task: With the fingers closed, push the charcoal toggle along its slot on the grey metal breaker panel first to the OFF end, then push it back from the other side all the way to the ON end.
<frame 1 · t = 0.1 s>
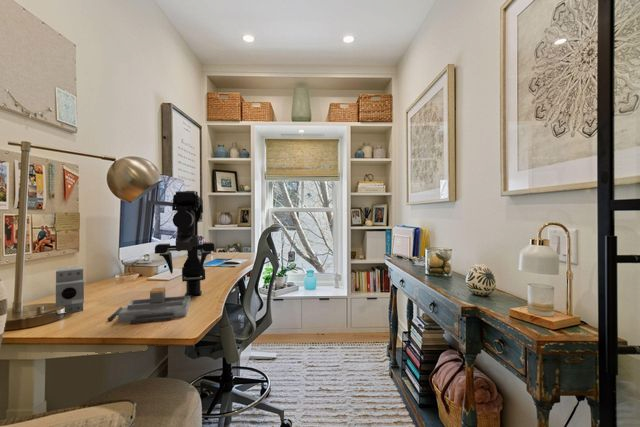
hand: (186, 272, 108), 14 cm above the table, tool pointing down, fingers open, 9 cm apart
toggle: (157, 295, 110), point 6 cm above the table, slide at 0.0 cm
circuit breaker: (69, 312, 111), on the table
cord b: (151, 321, 100), on the table
cord a: (115, 315, 107), on the table
panel: (157, 311, 110), on the table
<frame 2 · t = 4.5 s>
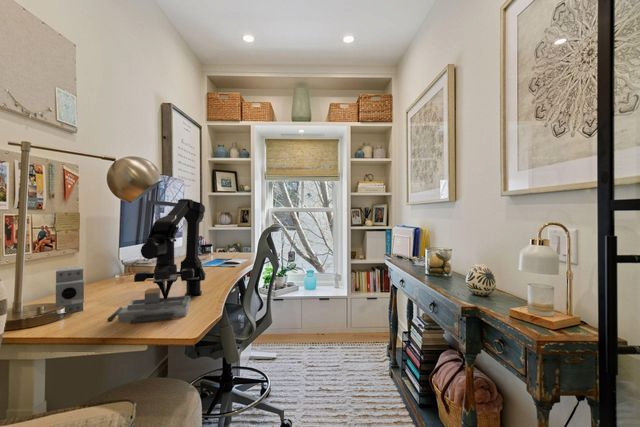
hand: (165, 299, 111), 4 cm above the table, tool pointing down, fingers closed
toggle: (152, 296, 110), point 6 cm above the table, slide at -1.7 cm, touching gripper
everything else where it was.
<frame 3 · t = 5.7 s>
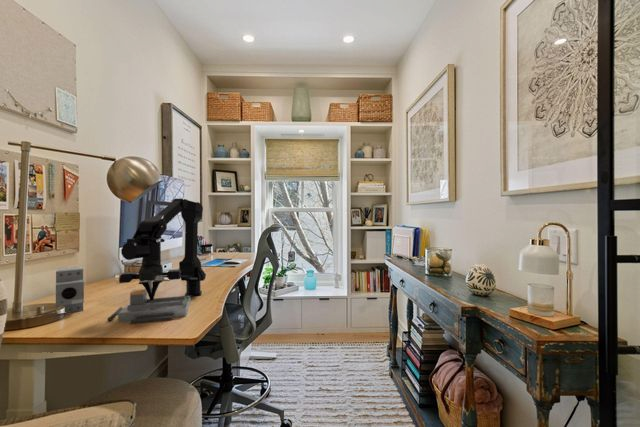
hand: (151, 300, 110), 4 cm above the table, tool pointing down, fingers closed
toggle: (138, 297, 109), point 6 cm above the table, slide at -6.0 cm, touching gripper
everything else where it was.
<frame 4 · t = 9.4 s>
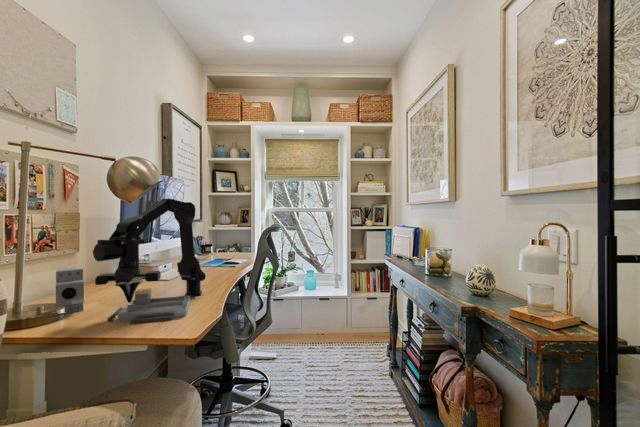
hand: (129, 302, 108), 4 cm above the table, tool pointing down, fingers closed
toggle: (143, 297, 109), point 6 cm above the table, slide at -4.6 cm, touching gripper
everything else where it was.
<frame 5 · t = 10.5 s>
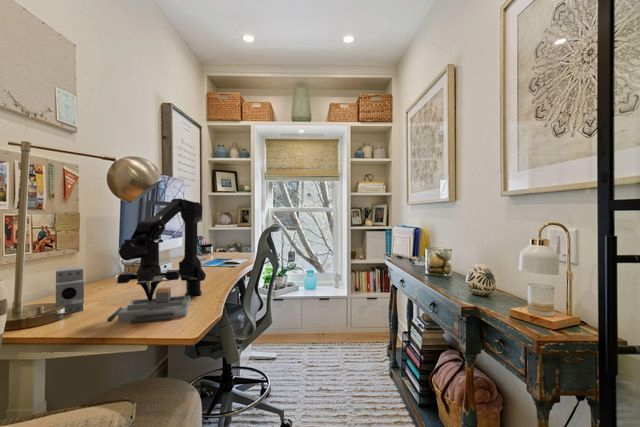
hand: (150, 300, 110), 4 cm above the table, tool pointing down, fingers closed
toggle: (163, 295, 111), point 6 cm above the table, slide at 1.8 cm, touching gripper
everything else where it was.
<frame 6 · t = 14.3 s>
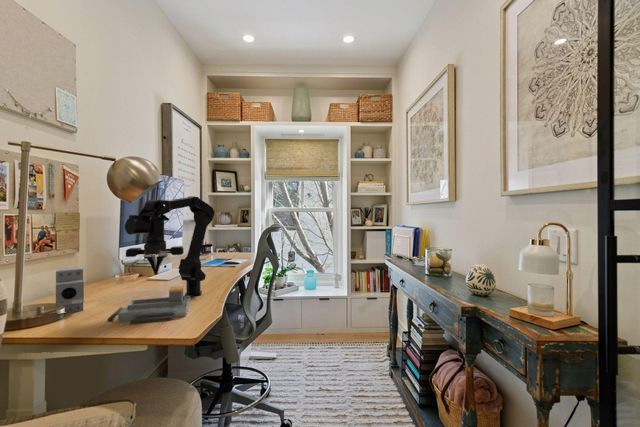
hand: (155, 274, 117), 12 cm above the table, tool pointing down, fingers closed
toggle: (176, 294, 112), point 6 cm above the table, slide at 6.0 cm
everything else where it was.
at the end: toggle slide at 6.0 cm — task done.
